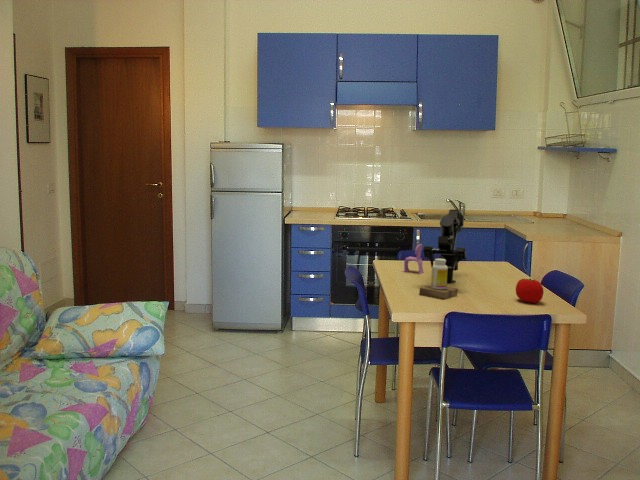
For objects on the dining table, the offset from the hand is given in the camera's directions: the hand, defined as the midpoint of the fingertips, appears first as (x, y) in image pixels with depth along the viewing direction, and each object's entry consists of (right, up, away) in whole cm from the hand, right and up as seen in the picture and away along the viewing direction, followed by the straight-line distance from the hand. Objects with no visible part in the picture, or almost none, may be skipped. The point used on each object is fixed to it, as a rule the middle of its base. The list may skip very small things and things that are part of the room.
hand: (442, 267), depth 318 cm
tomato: (+35, -14, -11) cm, 40 cm away
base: (-3, -12, -7) cm, 14 cm away
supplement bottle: (-3, -9, -7) cm, 12 cm away
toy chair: (-7, -4, +44) cm, 45 cm away
